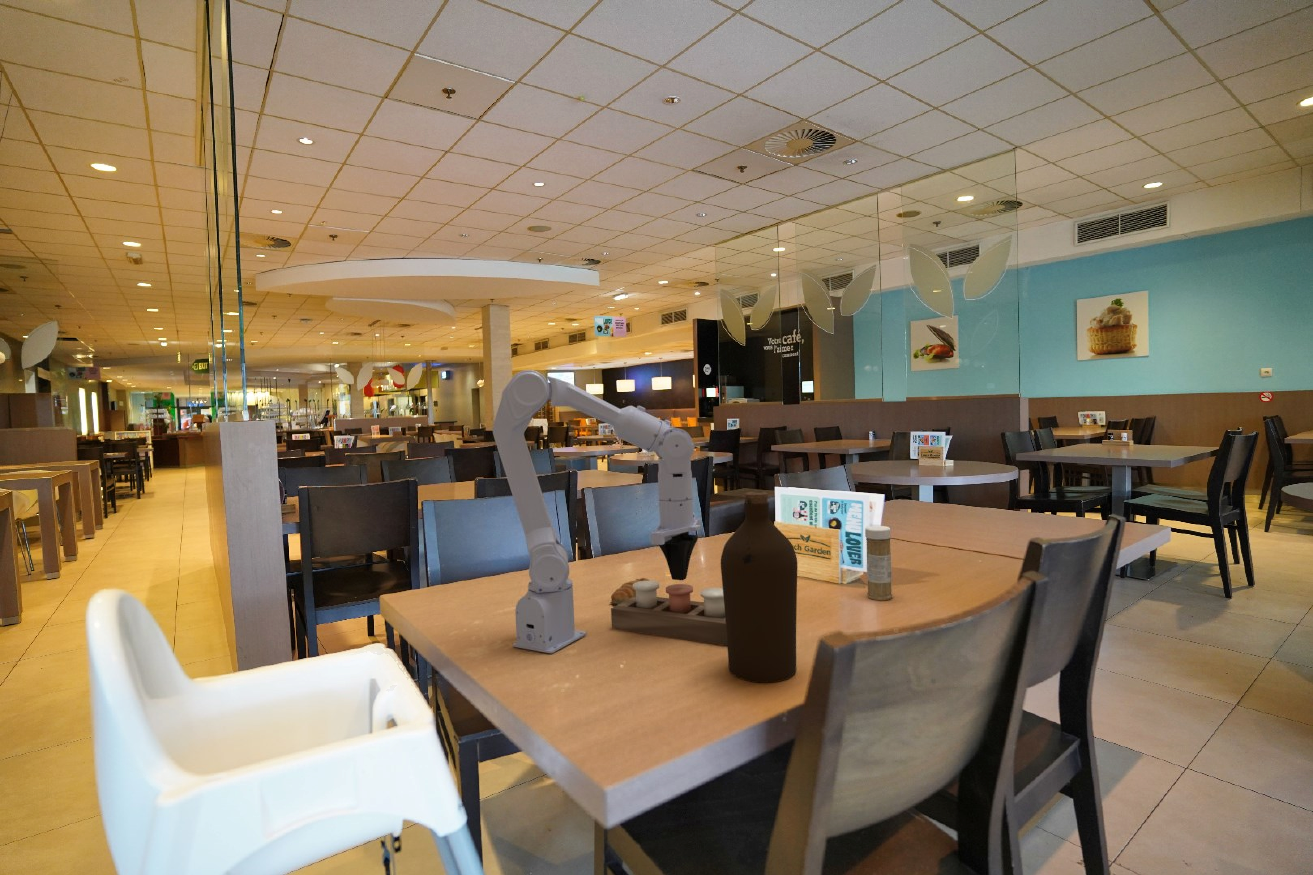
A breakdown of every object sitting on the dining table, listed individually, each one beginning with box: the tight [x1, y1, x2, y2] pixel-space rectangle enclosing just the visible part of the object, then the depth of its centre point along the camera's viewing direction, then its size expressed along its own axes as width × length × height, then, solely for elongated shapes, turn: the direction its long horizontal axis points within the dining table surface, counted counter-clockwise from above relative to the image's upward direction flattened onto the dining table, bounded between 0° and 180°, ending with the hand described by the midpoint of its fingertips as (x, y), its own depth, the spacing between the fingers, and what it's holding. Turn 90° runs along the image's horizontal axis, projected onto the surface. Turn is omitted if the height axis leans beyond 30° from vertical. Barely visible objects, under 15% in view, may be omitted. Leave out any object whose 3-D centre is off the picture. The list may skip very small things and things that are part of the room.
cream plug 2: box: [700, 587, 725, 618], centre depth 108 cm, size 5×5×4 cm
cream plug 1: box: [633, 580, 660, 609], centre depth 114 cm, size 5×5×4 cm
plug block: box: [610, 596, 727, 647], centre depth 111 cm, size 9×22×4 cm, turn 61°
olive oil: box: [720, 491, 798, 683], centre depth 92 cm, size 11×11×25 cm
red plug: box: [665, 583, 694, 614], centre depth 111 cm, size 5×5×4 cm
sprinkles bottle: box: [864, 525, 893, 601], centre depth 124 cm, size 5×5×14 cm
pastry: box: [610, 577, 651, 605], centre depth 129 cm, size 9×7×4 cm
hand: (679, 579), depth 111 cm, fingers closed
